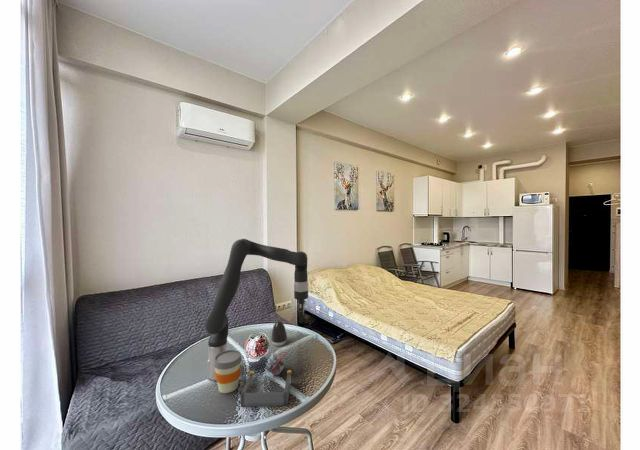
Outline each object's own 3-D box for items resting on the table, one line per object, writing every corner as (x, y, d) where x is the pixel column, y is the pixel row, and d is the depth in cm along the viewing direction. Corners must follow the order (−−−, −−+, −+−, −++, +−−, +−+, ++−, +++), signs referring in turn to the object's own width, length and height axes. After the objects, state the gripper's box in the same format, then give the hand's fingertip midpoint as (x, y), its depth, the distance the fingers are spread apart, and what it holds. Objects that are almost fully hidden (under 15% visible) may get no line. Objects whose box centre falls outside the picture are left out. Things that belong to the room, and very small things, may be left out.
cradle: (240, 406, 110) (240, 393, 110) (250, 382, 127) (250, 370, 127) (287, 405, 110) (287, 392, 110) (291, 381, 127) (291, 370, 127)
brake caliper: (281, 380, 128) (281, 356, 128) (261, 378, 130) (260, 354, 130) (288, 367, 139) (288, 345, 139) (269, 365, 141) (269, 344, 141)
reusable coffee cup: (214, 399, 115) (213, 366, 115) (214, 382, 127) (213, 353, 126) (243, 391, 120) (242, 359, 120) (240, 376, 132) (239, 347, 131)
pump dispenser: (281, 339, 173) (280, 316, 173) (290, 344, 165) (289, 321, 165) (268, 344, 166) (267, 321, 166) (276, 350, 158) (276, 325, 158)
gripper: (295, 286, 143) (295, 314, 144) (292, 293, 129) (293, 325, 129) (308, 285, 143) (309, 314, 144) (307, 292, 129) (308, 324, 129)
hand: (301, 319), depth 136 cm, fingers open, 8 cm apart
